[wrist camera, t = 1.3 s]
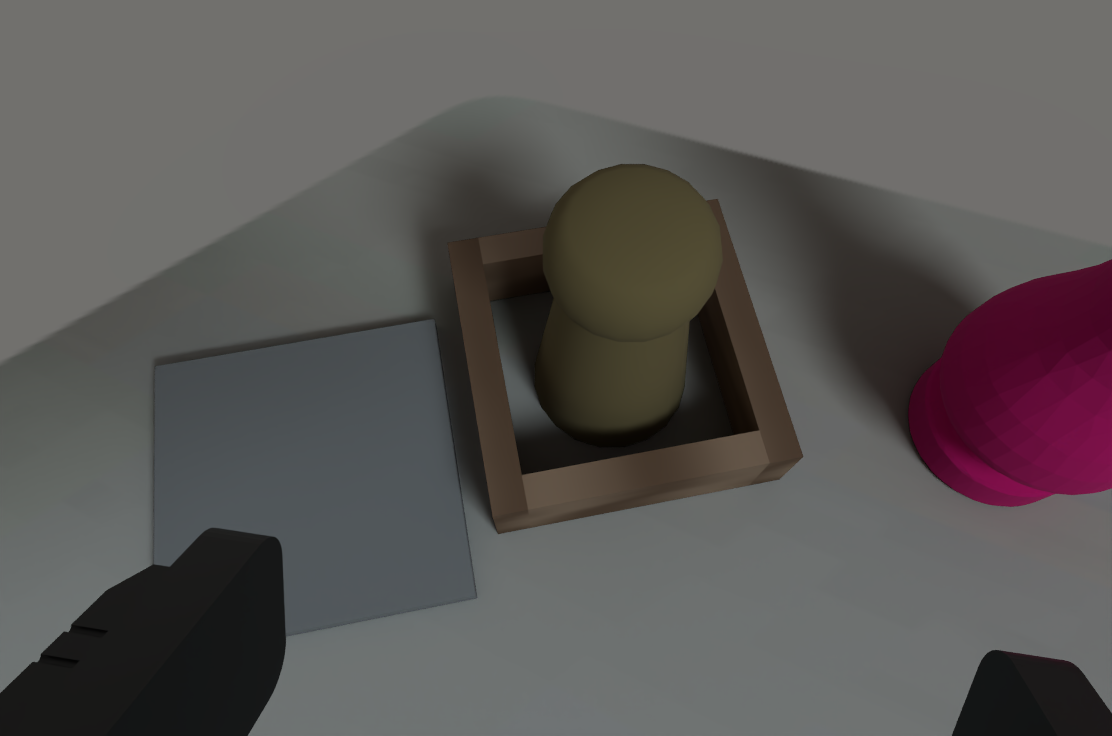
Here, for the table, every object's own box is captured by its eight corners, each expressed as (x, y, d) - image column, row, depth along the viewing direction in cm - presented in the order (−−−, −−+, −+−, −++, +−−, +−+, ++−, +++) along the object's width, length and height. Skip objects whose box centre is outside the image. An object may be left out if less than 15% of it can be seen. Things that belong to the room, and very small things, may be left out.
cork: (508, 345, 31) (488, 177, 21) (637, 286, 33) (677, 100, 22) (577, 474, 29) (591, 356, 19) (713, 406, 30) (793, 261, 20)
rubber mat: (161, 661, 27) (153, 660, 26) (162, 372, 31) (154, 366, 30) (477, 598, 28) (475, 596, 27) (436, 325, 32) (434, 318, 31)
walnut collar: (498, 533, 28) (492, 516, 26) (456, 281, 33) (447, 242, 30) (779, 479, 29) (803, 456, 27) (703, 239, 34) (717, 198, 31)
